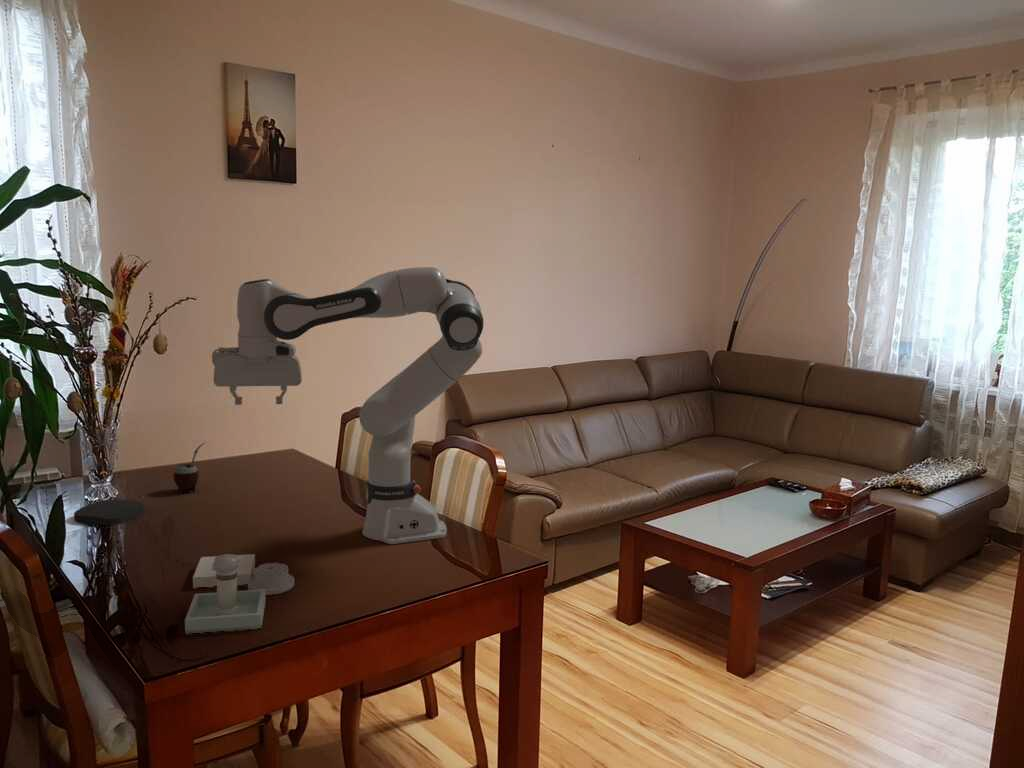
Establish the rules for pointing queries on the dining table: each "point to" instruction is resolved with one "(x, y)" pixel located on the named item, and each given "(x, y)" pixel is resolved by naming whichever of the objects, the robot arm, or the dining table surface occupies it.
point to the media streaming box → (108, 512)
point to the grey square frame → (207, 572)
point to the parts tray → (206, 620)
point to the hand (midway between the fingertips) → (259, 404)
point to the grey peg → (226, 584)
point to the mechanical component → (271, 578)
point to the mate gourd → (186, 475)
